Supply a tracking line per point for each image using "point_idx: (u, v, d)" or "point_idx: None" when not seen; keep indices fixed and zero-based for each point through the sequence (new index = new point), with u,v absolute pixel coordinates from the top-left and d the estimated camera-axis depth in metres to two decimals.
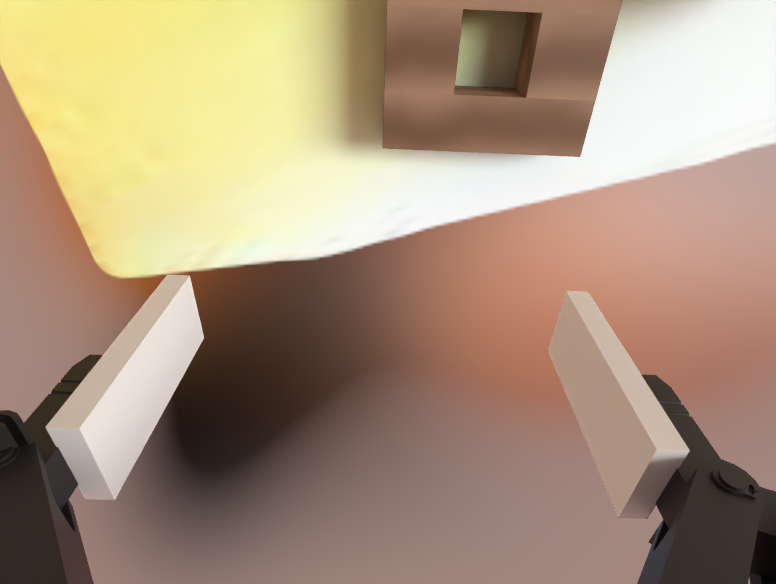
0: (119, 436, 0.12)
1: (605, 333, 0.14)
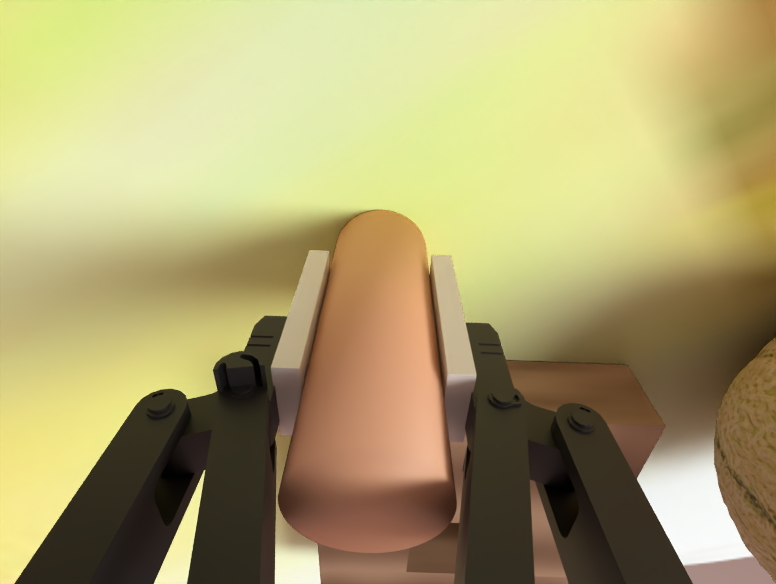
0: None
1: (450, 288, 0.16)
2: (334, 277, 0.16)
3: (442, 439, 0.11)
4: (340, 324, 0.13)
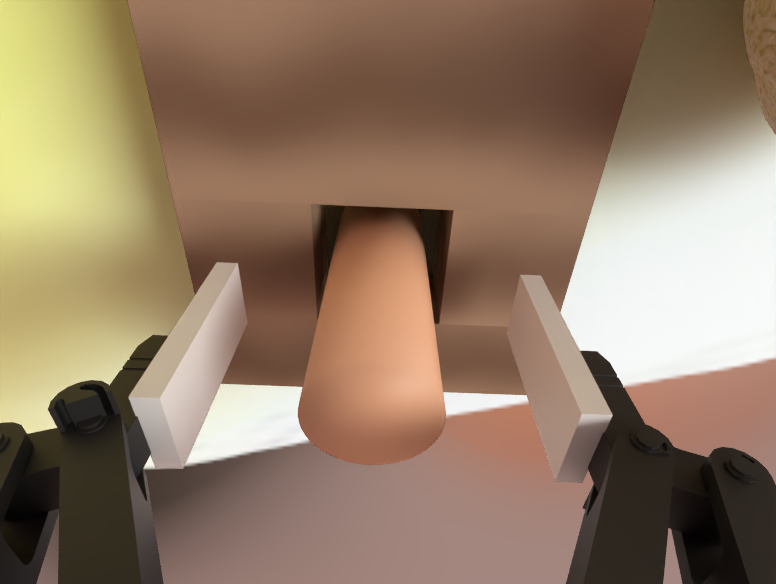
0: (187, 409, 0.13)
1: (551, 312, 0.15)
2: (340, 244, 0.18)
3: (433, 364, 0.13)
4: (346, 278, 0.15)
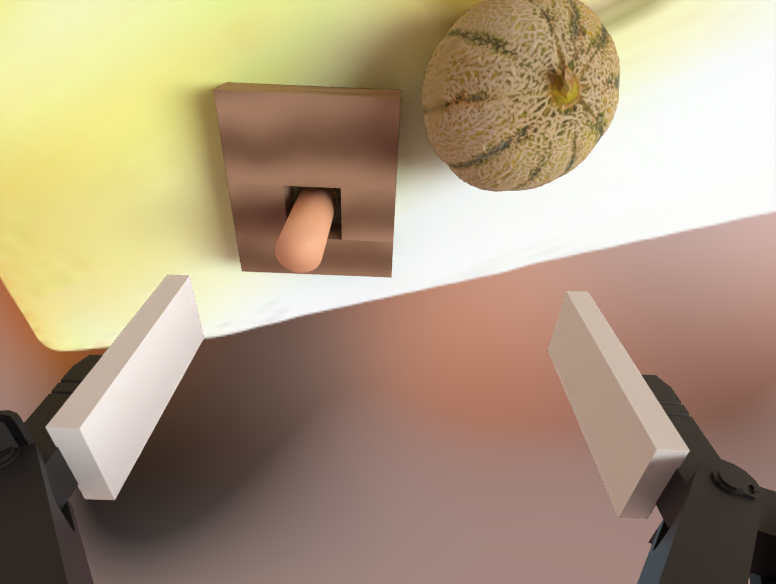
0: (119, 436, 0.12)
1: (605, 333, 0.14)
2: (295, 202, 0.44)
3: (319, 236, 0.39)
4: (294, 211, 0.41)
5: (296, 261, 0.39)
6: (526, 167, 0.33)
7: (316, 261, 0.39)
